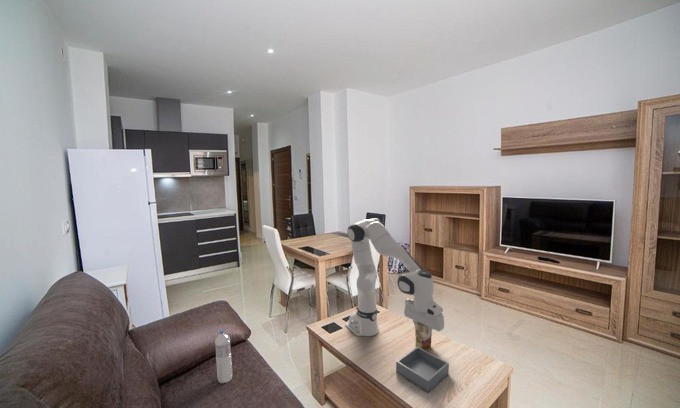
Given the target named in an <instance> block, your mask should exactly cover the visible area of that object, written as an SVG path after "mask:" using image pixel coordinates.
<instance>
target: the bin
mask: <svg viewBox="0 0 680 408" xmlns="http://www.w3.org/2000/svg"><path fill="white" fill-rule="evenodd" d="M395 364H396V365H395V373H396V374H397V375H399V376H401V377H402V378H404V379H405V380H407V382H410V383H411V384H413V385H414V386H416V387H418V388H419V389H420V390H422V391H424V392H425V393H427V394H429V393H430V392H431V391H432V390H433V389H434V388H435V387H437V386H438V385H439V384H440V383H441V382H442V381H443V380H444V379H445V378H446V377H448V376H449V367H450V366H449V365H450V363H449V362H447V361H445V360H443V358H442V359H441V358H440V357H439V356H436V355H434V354H432V352H431V353H430V352H429V351H427V350H423V349H421V348H419V347H416V348H415V347H414V348H413V349H412V350H410V351H408V352H407V353H406V354H405V355H404V356H402V357H400V358H399V359H398V360H396V361H395Z"/></svg>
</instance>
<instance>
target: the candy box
mask: <svg viewBox="0 0 680 408" xmlns="http://www.w3.org/2000/svg"><path fill="white" fill-rule="evenodd" d="M432 333H433V331H431V335H430V337H429V338H428V339H426V340H425V341H423V340H422V339H420V338H418V337H416V336H415V347H414V348H416V347H419V348H421V349H423V350H425V351H427V350H428V349H430V348H431V347H432V335H433V334H432Z"/></svg>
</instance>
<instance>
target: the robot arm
mask: <svg viewBox="0 0 680 408" xmlns="http://www.w3.org/2000/svg"><path fill="white" fill-rule="evenodd" d="M347 236H348V238H349V240H350V241H351V249H352V254H353V259H354V263H355V265H356V267H357V270H358V277H357V279H356V288H357V297H358V300H357V301H358V306H357V307H355V308H354V309H355V312H353V313H352V314H351V315H350V316H349V318H348V320H347V321H346V322H345V326H346V327H347V329H348V330H350V331H351V332H352V333H353V334H354V335H355V336H357V337H361V336H364V337H372V336H373V337H374V336H375V335H377V334H378V333H379V332H380V329H379V323H378V308H377V294H376V293H377V292H376V284H377V283H376V282H377V279H378V272H377V269H376V266H375V262H374V259H373V255H372V249H371V244H372V246H373V248H374V249H375V250H376V252H377V253H378V254H379V255H381V256H384V257H390V258H394V259H397V260H399V261H401V263H402V264H403V265H404V267H405V268H406V269H407V271H408V272H406V273H403V274H401V275H399V276H398V278H397V281H396V282H397V283H396V284H397V287H398V290H399V291H400V292H401V293H403V294H406V295H409V296H412V295H413V299H410V298H406V299H405V302H404V303H405V305H404V310H403V311H404V312H403V314H404V317H406V318H407V319H411V320H412V323H413V325H414V328H415V327H416V322H419V323H421V324H423V325H425V326H428V328H429V330H427V331H426V332H427V333H426V334H428V335H431V331H432V330H434V331H437V332H441V331H442V330H444V328H445V318H444V315H443V312H444V308H443V307H442V306H440V305H439V304H437V302H435V301H434V297H433V294H434V277H433V275H432V273H431V272H429V271H427V270H425V269H424V268H423V267H421V265H419V263H418V262H417V261H416V260H415V259H414V257H413V256H412V255H411V254H410V252H408V250H407V249H406V248H405V247H404V246H403V245H401V244H399V242H397V240H395V239H394V237H393V236H392V235H391V233H390V232H389V230H388V229H387V228H386V226H385V225H383V222H382V221H381V220H380V219H379V218H377V217H372V218H370V219H369V218H368V219H363V220H362V221H358V222H356V223H353V224H350V225H349V226H348V227H347ZM370 242H371V244H370ZM432 332H433V331H432Z"/></svg>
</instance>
